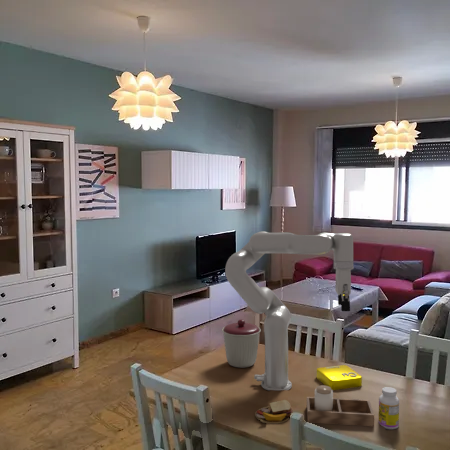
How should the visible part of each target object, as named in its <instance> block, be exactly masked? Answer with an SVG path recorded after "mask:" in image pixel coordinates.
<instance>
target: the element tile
mask: <svg viewBox="0 0 450 450" xmlns="http://www.w3.org/2000/svg"><path fill="white" fill-rule="evenodd" d="M316 379H317V380H318V381H319V382H320V383H321V384H323V385H325V386H329V387H330V388H331V390H332V391H340V390H345V389H354V388H361V387H363V377H362V375H361V374H359V372H357V371H355V370H354V369H353V368H351V367H350V366H348V365H346V364H340V365H332V366H324V367H321V366H320V367H317V368H316Z"/></svg>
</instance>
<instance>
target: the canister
mask: <svg viewBox="0 0 450 450" xmlns="http://www.w3.org/2000/svg"><path fill="white" fill-rule="evenodd" d="M221 332H222V333H223V339H224V340H223V341H224V350H225V356H226V361H227V363H228V364H229V365H230V366H231V367H234V368H241V369H242V368H249V367H252V366H254V365H255V363H256V361H257V357H258V349H259V342H260V341H259V339H260V333H261V332H262V329H261V327H260V326H257V325H256V324H253V323H250V322H246V321H245V320H244V319H238V320H237V322H234V323H233V322H232V323H228V324H226V325H224V326H223V327H222V329H221Z"/></svg>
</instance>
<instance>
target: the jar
mask: <svg viewBox="0 0 450 450" xmlns="http://www.w3.org/2000/svg"><path fill="white" fill-rule="evenodd" d="M314 397H315V411H332V412H333V398H334V390H331V388H330V387H329V386H325V385H324V384H323V385H321V384H320V385H317V386H316V388H315V389H314Z"/></svg>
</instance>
